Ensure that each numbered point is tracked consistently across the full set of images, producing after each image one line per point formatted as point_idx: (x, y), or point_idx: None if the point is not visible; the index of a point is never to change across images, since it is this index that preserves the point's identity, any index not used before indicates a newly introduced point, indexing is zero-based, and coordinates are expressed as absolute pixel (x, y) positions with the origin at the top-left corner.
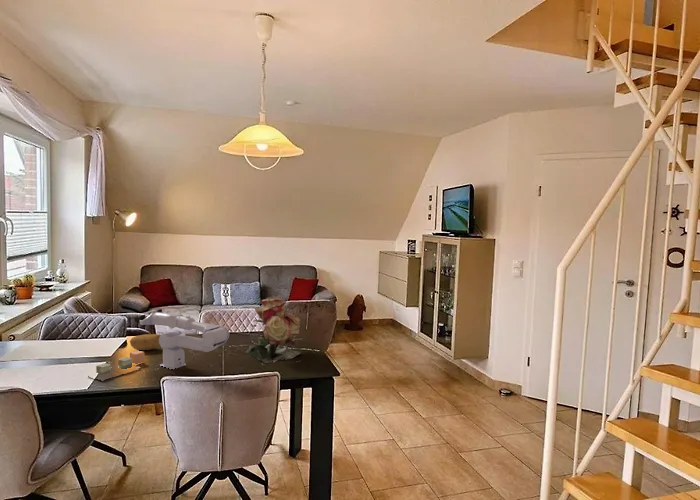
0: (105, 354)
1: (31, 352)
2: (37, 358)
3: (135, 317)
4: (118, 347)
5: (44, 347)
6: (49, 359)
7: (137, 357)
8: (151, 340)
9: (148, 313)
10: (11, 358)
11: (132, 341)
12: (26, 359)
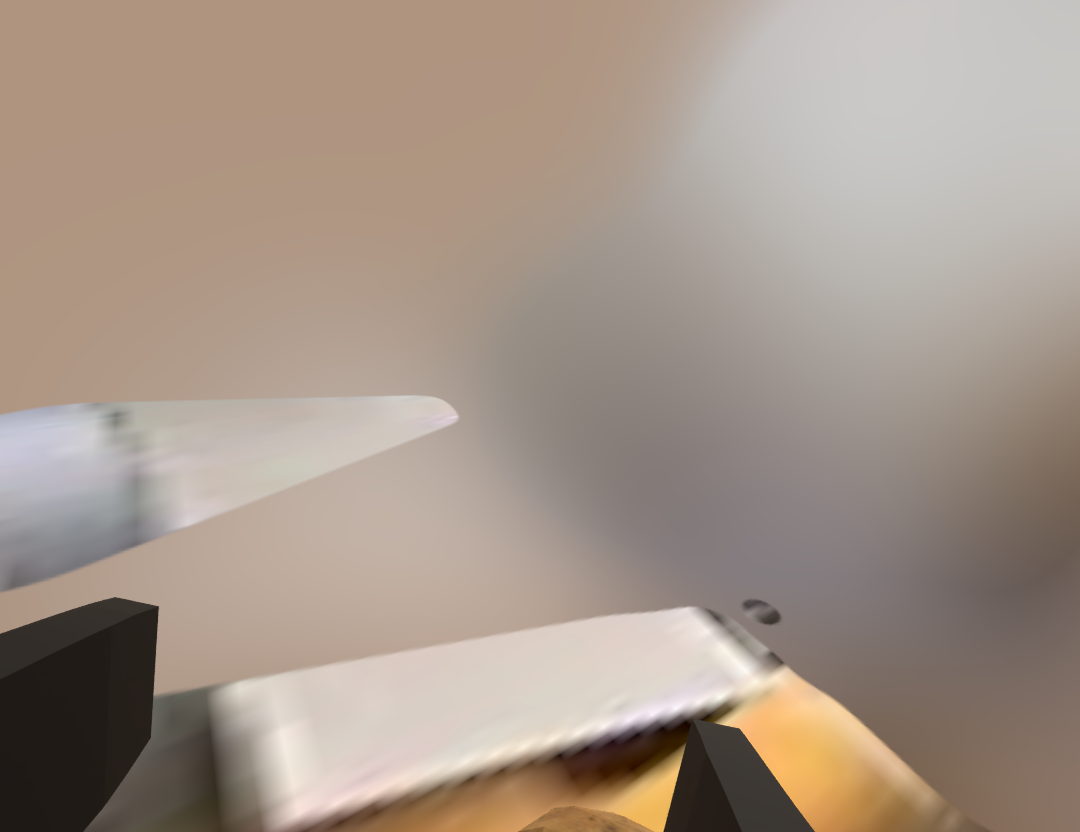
0: (315, 755)
1: (272, 432)
2: (154, 468)
3: (63, 616)
4: (549, 748)
5: (372, 446)
6: (130, 511)
7: None
8: None
9: (687, 739)
10: (152, 405)
11: None
12: (131, 442)
